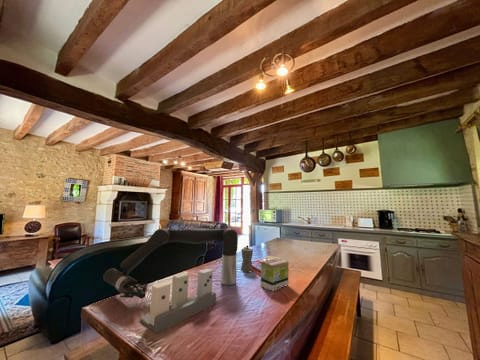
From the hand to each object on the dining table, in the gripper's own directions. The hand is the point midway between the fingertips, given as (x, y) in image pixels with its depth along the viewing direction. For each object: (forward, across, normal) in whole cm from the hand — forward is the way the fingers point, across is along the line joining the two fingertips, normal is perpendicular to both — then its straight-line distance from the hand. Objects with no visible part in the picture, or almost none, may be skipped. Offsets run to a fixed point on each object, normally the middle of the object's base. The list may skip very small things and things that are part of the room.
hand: (143, 295), depth 89 cm
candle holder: (+19, -83, -7) cm, 86 cm away
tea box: (+30, -67, -7) cm, 74 cm away
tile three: (+14, -25, -6) cm, 29 cm away
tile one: (+14, -1, -6) cm, 15 cm away
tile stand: (+11, -13, -7) cm, 18 cm away
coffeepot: (-2, -81, -7) cm, 81 cm away
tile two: (+10, -13, -6) cm, 17 cm away
